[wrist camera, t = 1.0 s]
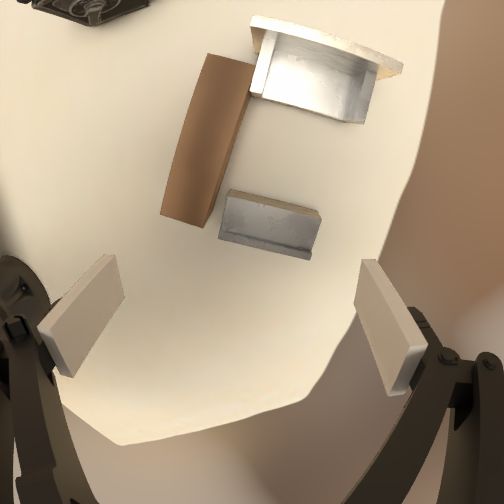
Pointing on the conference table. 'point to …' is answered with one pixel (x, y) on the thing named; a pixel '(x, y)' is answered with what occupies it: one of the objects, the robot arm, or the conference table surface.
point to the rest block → (269, 224)
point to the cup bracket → (316, 70)
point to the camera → (87, 9)
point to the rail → (207, 139)
